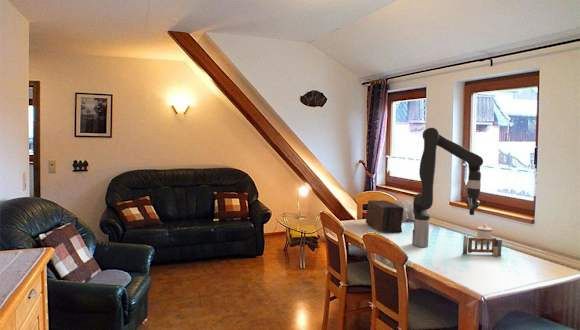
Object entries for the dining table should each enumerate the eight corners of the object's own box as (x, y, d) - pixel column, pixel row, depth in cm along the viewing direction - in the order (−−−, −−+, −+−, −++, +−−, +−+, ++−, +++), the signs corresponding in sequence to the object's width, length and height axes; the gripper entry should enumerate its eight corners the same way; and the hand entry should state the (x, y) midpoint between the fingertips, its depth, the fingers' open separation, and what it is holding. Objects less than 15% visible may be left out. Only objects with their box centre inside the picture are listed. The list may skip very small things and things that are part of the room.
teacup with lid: (494, 243, 275) (495, 226, 274) (481, 243, 274) (482, 226, 273) (483, 238, 287) (484, 222, 286) (471, 238, 285) (472, 222, 284)
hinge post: (463, 254, 248) (464, 236, 247) (462, 253, 250) (463, 235, 249) (467, 254, 248) (468, 236, 247) (466, 253, 250) (467, 235, 249)
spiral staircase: (391, 224, 341) (419, 222, 346) (400, 219, 325) (429, 217, 330) (387, 203, 347) (415, 201, 352) (395, 197, 331) (424, 195, 336)
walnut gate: (468, 252, 248) (469, 238, 247) (467, 252, 250) (468, 237, 249) (495, 253, 248) (496, 238, 247) (494, 252, 250) (495, 237, 249)
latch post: (493, 256, 246) (494, 240, 245) (490, 254, 250) (491, 238, 249) (502, 256, 245) (503, 240, 245) (499, 254, 250) (500, 239, 249)
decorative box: (384, 224, 327) (361, 223, 322) (388, 199, 326) (365, 197, 320) (405, 235, 298) (380, 233, 292) (409, 207, 296) (384, 205, 291)
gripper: (461, 185, 263) (459, 212, 265) (475, 188, 250) (472, 217, 252) (472, 186, 265) (470, 212, 266) (486, 188, 252) (483, 217, 253)
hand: (471, 214), depth 259 cm, fingers closed
